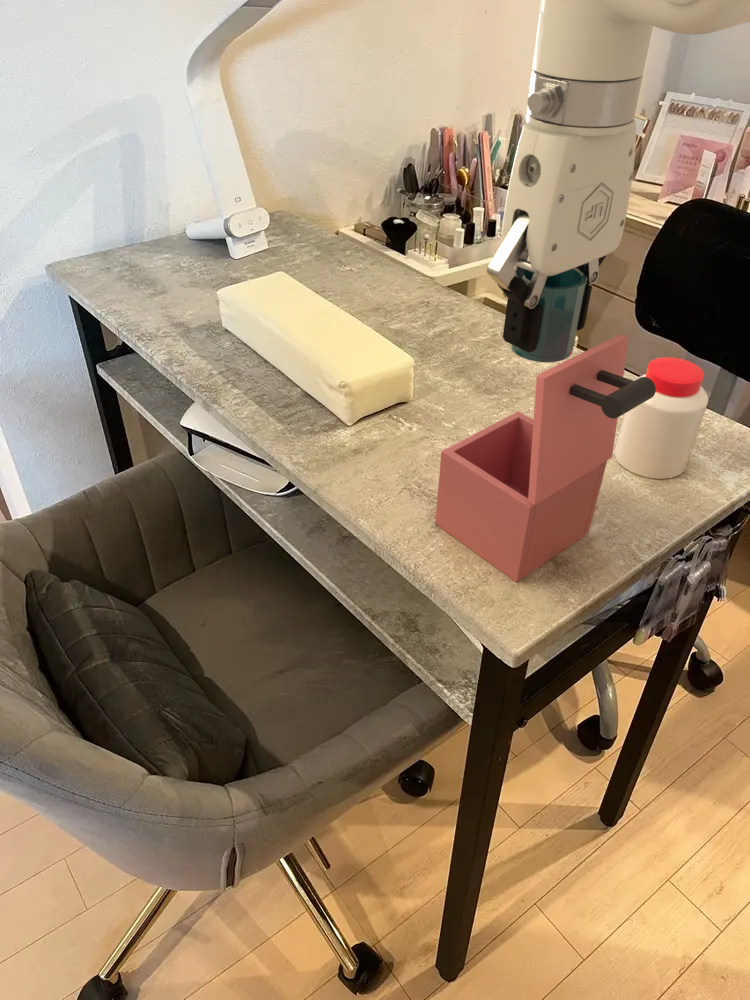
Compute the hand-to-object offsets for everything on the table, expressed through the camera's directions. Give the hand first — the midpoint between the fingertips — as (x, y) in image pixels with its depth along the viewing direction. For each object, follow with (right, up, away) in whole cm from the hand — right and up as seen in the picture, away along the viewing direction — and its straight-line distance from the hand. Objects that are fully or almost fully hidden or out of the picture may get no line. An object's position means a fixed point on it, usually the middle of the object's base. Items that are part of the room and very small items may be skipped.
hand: (543, 332), depth 65 cm
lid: (+2, -8, -2) cm, 8 cm away
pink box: (-1, -17, +10) cm, 20 cm away
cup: (0, -1, +1) cm, 1 cm away
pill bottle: (+16, -10, +19) cm, 27 cm away
